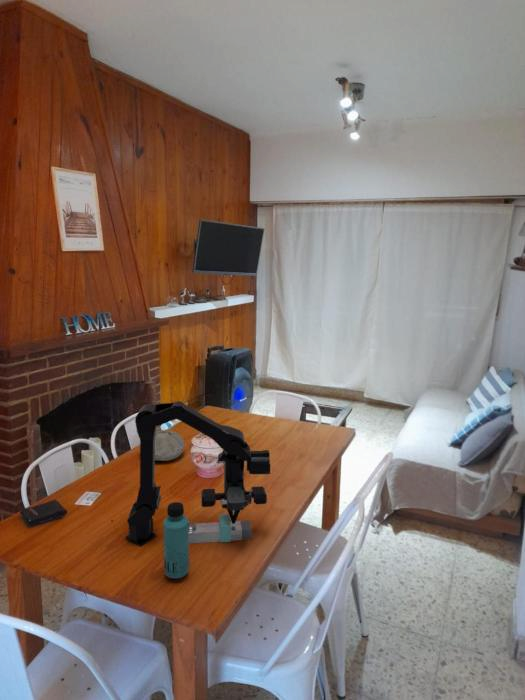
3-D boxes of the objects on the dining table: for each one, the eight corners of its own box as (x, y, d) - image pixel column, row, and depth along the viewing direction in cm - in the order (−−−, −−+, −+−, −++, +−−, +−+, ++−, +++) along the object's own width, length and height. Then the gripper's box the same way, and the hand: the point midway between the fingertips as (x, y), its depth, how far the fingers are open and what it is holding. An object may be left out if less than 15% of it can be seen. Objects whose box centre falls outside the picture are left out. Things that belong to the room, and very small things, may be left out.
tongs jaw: (189, 537, 138) (189, 528, 138) (189, 533, 141) (189, 524, 140) (250, 534, 141) (251, 524, 140) (249, 529, 143) (250, 520, 142)
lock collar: (220, 542, 136) (220, 525, 135) (219, 530, 142) (219, 514, 141) (230, 541, 136) (230, 525, 135) (229, 529, 142) (229, 513, 141)
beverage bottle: (191, 567, 125) (190, 498, 121) (187, 584, 119) (187, 512, 115) (166, 567, 125) (164, 498, 121) (161, 584, 118) (160, 511, 114)
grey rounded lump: (173, 469, 182) (172, 444, 180) (131, 463, 187) (130, 439, 185) (191, 451, 199) (191, 428, 197) (153, 446, 204) (152, 423, 202)
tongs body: (182, 544, 135) (182, 531, 134) (182, 535, 139) (182, 523, 139) (251, 539, 138) (252, 527, 137) (250, 531, 142) (250, 519, 141)
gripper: (202, 488, 127) (202, 541, 130) (270, 485, 130) (269, 536, 133) (201, 470, 138) (201, 519, 141) (264, 467, 140) (263, 515, 143)
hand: (233, 522), depth 139 cm, fingers closed
